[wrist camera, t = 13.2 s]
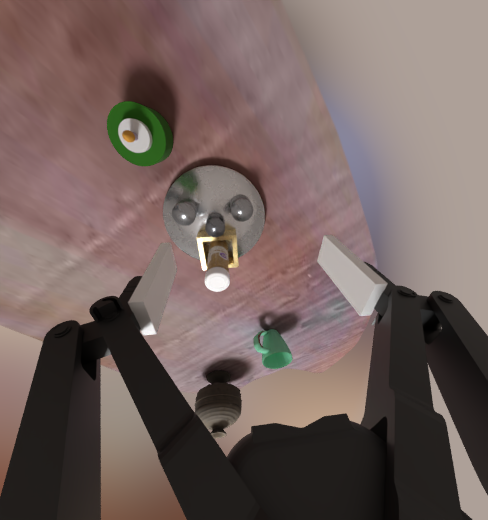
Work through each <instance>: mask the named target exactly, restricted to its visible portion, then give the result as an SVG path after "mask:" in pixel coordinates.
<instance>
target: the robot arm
mask: <svg viewBox="0 0 488 520" xmlns="http://www.w3.org/2000/svg"><path fill="white" fill-rule="evenodd" d="M318 263H319V264H320V265H321V267H322V268H323V269H324V270H325V272H326V273H327V274H328V276H329V277H330V278H331V279H332V281H333V282H334V283H335V285H336V286H337V287H338V288H339V290H340V291H341V292H342V294H343V295H344V296H345V297H346V299H347V300H348V301H349V303H350V304H351V305H352V306H353V308H354V309H355V310H356V312H357V313H358V314H359V315H360V316H366V315H371V314H372V312H373V310H374V309H375V310H376V311H377V312H378V314H377V316H376V318H375V319H374V321H373V323H372V325H374V324H375V330H374V338H373V346H372V347H373V348H372V355H371V363H370V372H369V380H368V389H367V398H366V406H365V413H364V417H363V420H362V422H361V425H360V424H358V423H355V422H352V421H350V420H349V418H348V416H347V414H339V415H331V416H324V417H322V418H321V419H319V420H317V421H315V422H313V423H311V424H309V425H308V426H306V427H304V428H298V427H293V426H287V425H282V424H277V423H273V424H266V425H259V426H252V427H251V433H250V434H248V435H246V436H245V437H243V438H242V439H241V440H240V441H239V442H238V443H237V444H236V445H235V446H234V447H233V448H232V450H231V451H230V453H229V454H228V456H227V457H226V456H225V454H224V453H223V451H222V450H221V448H220V447H219V445H218V444H217V442H216V441H215V439H214V438H213V437H212V435H211V434H210V432H209V431H208V429H207V428H206V426H205V425H204V423H203V422H202V420H201V419H200V418H199V417H198V415H197V414H195V413H194V411H193V410H192V409H191V407H190V406H189V404H188V403H187V401H186V400H185V398H184V397H183V395H182V394H181V392H180V391H179V389H178V388H177V386H176V385H175V383H174V382H173V380H172V379H171V377H170V376H169V374H168V373H167V372H166V370H165V369H164V367H163V366H162V364H161V363H160V361H159V360H158V358H157V357H156V355H155V354H154V352H153V351H152V349H151V348H150V346H149V345H148V343H147V342H146V340H145V339H144V337H143V336H142V334H143V335H152V334H157V331H158V328H159V325H160V322H161V319H162V315H163V312H164V309H165V306H166V303H167V300H168V297H169V294H170V291H171V288H172V284H173V281H174V278H175V275H176V272H177V267H176V263H175V258H174V254H173V250H172V246H171V243H161V244H160V246H159V248H158V249H157V251H156V253H155V255H154V257H153V258H152V260H151V262H150V264H149V266H148V267H147V269H146V271H145V273H144V275H143V276H136V277H134V278H133V279H132V280H130V281H129V283H128V284H127V286H126V288H125V289H124V291H123V293H122V294H121V295H120V297H119V298H118V297H116V296H109V297H105V298H102V299H100V300H98V301H96V302H95V303H94V304H93V305H92V306H91V308H90V314H91V315H92V317H93V318H94V320H95V321H93V322H90V323H86V324H83V325H80V324H79V323H78V322H77V321H74V320H70V321H66V322H63V323H60V324H58V325H56V326H55V327H53V328H52V329H51V330H50V331H49V332H48V333H47V334H46V336H45V338H44V341H43V345H42V348H41V352H40V355H39V359H38V363H37V366H36V370H35V373H34V377H33V381H32V384H31V388H30V392H29V396H28V399H27V402H26V406H25V410H24V413H23V417H22V420H21V424H20V428H19V431H18V435H17V438H16V443H15V446H14V449H13V453H12V457H11V460H10V464H9V467H8V471H7V475H6V479H5V482H4V485H3V489H2V493H1V496H0V520H101V518H100V517H101V505H100V504H101V498H100V497H101V494H100V493H101V477H100V476H101V464H100V463H101V460H100V458H101V454H100V453H101V451H100V449H101V448H100V447H101V446H100V443H101V442H100V440H101V438H100V437H101V435H100V358H102V357H105V356H108V355H111V354H112V357H113V359H114V361H115V363H116V365H117V367H118V369H119V371H120V373H121V376H122V377H123V380H124V382H125V384H126V386H127V388H128V390H129V392H130V395H131V397H132V399H133V401H134V403H135V405H136V407H137V409H138V411H139V414H140V415H141V418H142V420H143V422H144V424H145V426H146V428H147V430H148V433H149V434H150V437H151V439H152V441H153V443H154V445H155V447H156V450H157V453H158V457H159V460H160V463H161V465H162V467H163V469H164V472H165V474H166V476H167V478H168V480H169V482H170V484H171V486H172V489H173V491H174V493H175V495H176V497H177V499H178V502H179V503H180V506H181V508H182V510H183V512H184V514H185V517H186V519H187V520H472V519H471V518H470V517H469V516H468V515H467V514H466V513H464V512H463V511H462V510H461V507H460V502H459V496H458V490H457V484H456V479H455V473H454V466H453V461H452V455H451V449H450V443H449V437H448V431H447V426H446V422H445V419H444V418H443V416H442V415H440V414H438V413H437V412H435V411H434V408H433V401H432V394H431V386H430V379H429V372H428V365H429V367H430V369H431V372H432V374H433V376H434V378H435V381H436V383H437V385H438V388H439V390H440V392H441V394H442V397H443V399H444V401H445V404H446V406H447V408H448V410H449V413H450V415H451V417H452V420H453V422H454V424H455V426H456V428H457V431H458V433H459V435H460V438H461V440H462V442H463V445H464V447H465V449H466V451H467V454H468V456H469V458H470V461H471V462H472V465H473V467H474V469H475V471H476V473H477V476H478V478H479V480H480V482H481V484H482V486H483V488H484V489H485V491H486V493H487V495H488V336H487V334H486V333H485V332H484V331H483V330H482V328H481V327H480V326H479V324H478V323H477V322H476V321H475V320H474V318H473V317H472V316H471V314H470V313H469V312H468V311H467V309H466V308H465V307H464V306H463V304H462V303H461V302H460V301H459V300H458V299H457V298H455V297H454V296H452V295H451V294H448V293H445V292H441V291H433V292H432V293H431V294H430V296H429V297H427V296H419V295H417V294H416V293H415V292H414V291H412V290H411V289H409V288H407V287H403V286H396V285H395V284H393V283H392V282H391V281H390V280H389V279H387V278H386V277H385V276H384V275H383V274H381V273H380V272H379V271H377V269H376V268H374V267H373V266H372V265H370V264H368V263H366V262H363V261H362V260H360V259H359V258H358V257H357V256H356V255H355V254H354V253H352V252H351V251H350V250H349V249H348V248H347V247H346V246H344V245H343V244H342V243H341V242H340V241H339V240H338V239H337V238H335V237H334V236H333V235H324V237H323V241H322V245H321V249H320V253H319V257H318ZM441 327H442V329H441ZM140 329H141V331H142V334H141V333H140ZM427 363H428V364H427Z"/></svg>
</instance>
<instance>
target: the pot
mask: <svg viewBox="0 0 488 520" xmlns="http://www.w3.org/2000/svg"><path fill="white" fill-rule="evenodd" d="M230 378H231V375H230V373H228V372H226V371H214V372H212V373H210V374H208V376H207V380H208V382H210V383H211V384H212V385H210V384H209V385H207V386H206V387H204V388H202V389H201V390H199V392H198V393H197V397H196V403H195V414H197V415H198V417H199V418H200V419H201V420H202V422H203V423H204V425H205V426H206V428H207V429H210V430H213V431H212V432H211V433H210V434H211V435H212V437H213V438H214V439H218V438H223V437H225V436H226V432H225V431H224V430H223V429H225V428H228V427H230V426H231V425H232V424H234V423H235V422H236V421H237V419H238V418H239V416H240V414H241V401H242V400H241V394H240V390H239V389H238V388H237V387H235V386H234V385H232V384H228V383H226V382H228V381H229V380H230Z"/></svg>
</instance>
